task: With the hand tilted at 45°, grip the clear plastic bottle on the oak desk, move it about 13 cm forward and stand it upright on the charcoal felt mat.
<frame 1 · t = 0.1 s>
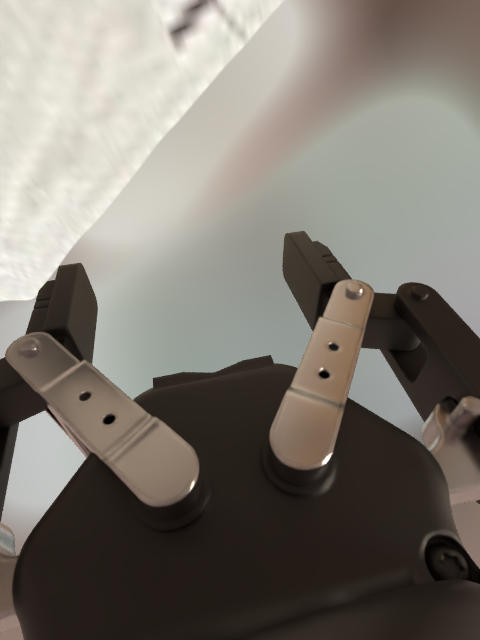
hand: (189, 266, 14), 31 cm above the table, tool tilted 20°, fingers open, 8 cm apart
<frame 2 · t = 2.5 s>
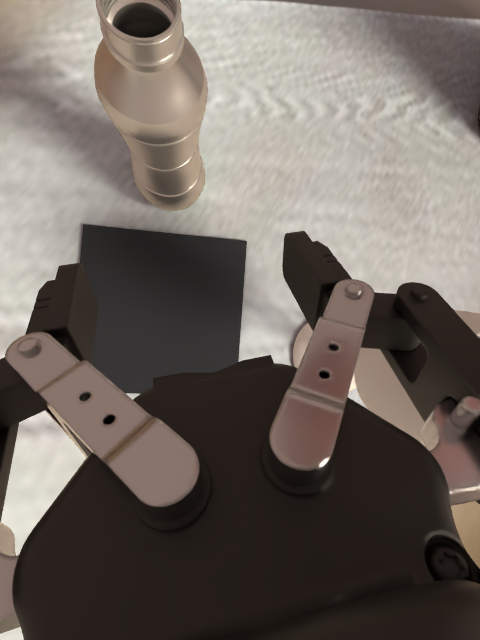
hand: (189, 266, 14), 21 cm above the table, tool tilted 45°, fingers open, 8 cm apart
felt mat: (161, 313, 35), on the table
plastic bottle: (171, 185, 35), on the table
wineglass: (331, 354, 37), on the table
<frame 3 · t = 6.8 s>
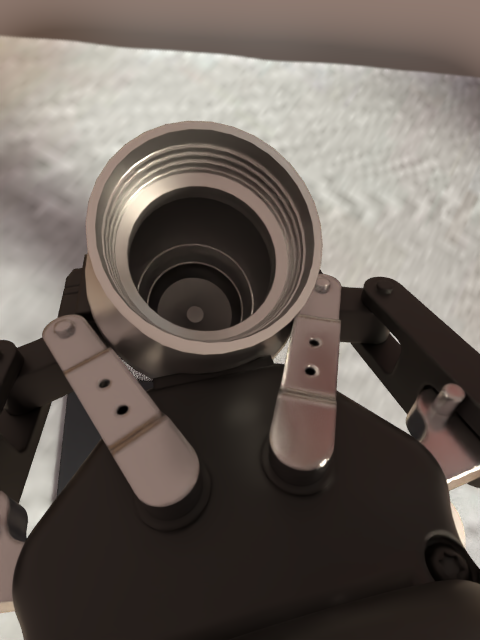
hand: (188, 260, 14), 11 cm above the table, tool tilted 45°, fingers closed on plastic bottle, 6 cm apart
felt mat: (178, 498, 24), on the table
plastic bottle: (194, 314, 25), on the table, touching gripper
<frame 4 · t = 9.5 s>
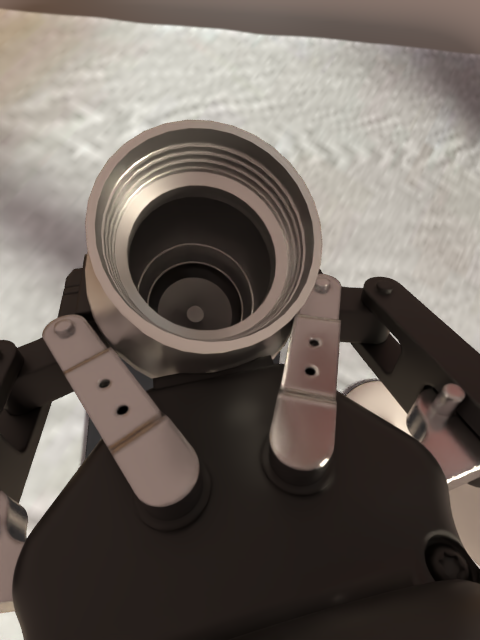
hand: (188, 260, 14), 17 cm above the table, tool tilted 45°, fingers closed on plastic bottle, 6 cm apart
felt mat: (188, 383, 31), on the table
plastic bottle: (194, 313, 25), point 6 cm above the table, touching gripper
wineglass: (375, 426, 33), on the table
when the fingers open (11 cm above the table, at t = 12.5 s): plastic bottle stays where it is, resting on felt mat.
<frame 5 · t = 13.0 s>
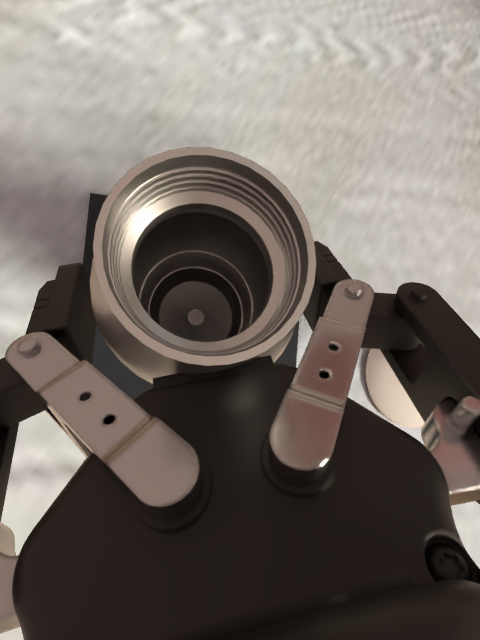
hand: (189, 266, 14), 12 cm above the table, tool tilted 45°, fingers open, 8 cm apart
felt mat: (193, 315, 26), on the table
plastic bottle: (195, 317, 26), resting on felt mat
wineglass: (413, 371, 28), on the table
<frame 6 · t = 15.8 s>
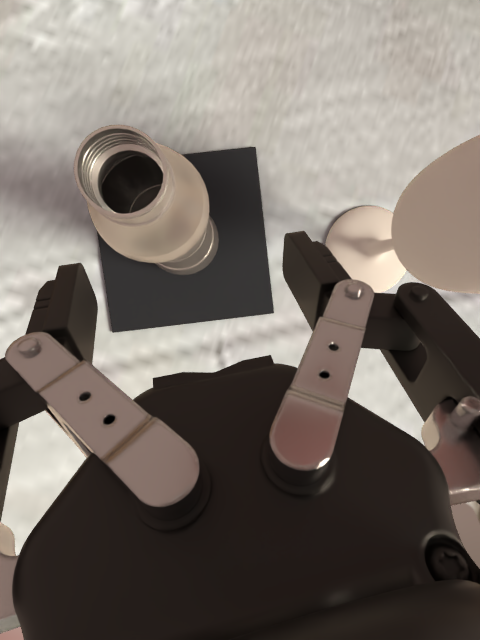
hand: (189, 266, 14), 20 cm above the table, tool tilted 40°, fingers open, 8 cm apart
felt mat: (183, 241, 34), on the table
plastic bottle: (184, 242, 34), resting on felt mat
wineglass: (366, 251, 35), on the table
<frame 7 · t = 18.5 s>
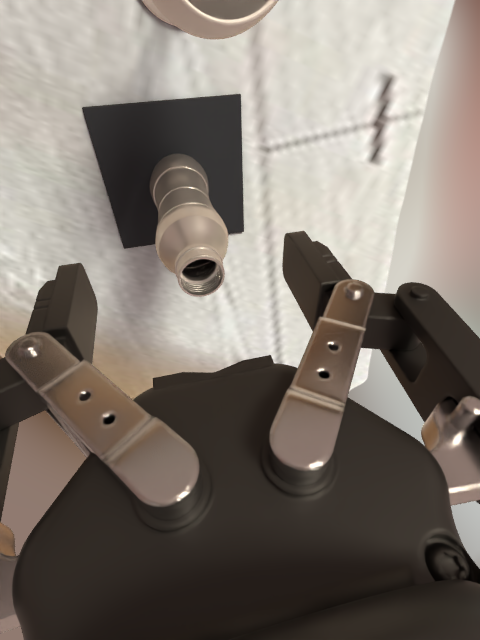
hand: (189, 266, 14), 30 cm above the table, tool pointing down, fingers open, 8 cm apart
felt mat: (175, 178, 41), on the table
plastic bottle: (177, 177, 41), resting on felt mat
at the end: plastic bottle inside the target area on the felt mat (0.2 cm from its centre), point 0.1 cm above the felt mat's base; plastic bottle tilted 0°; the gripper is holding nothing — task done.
